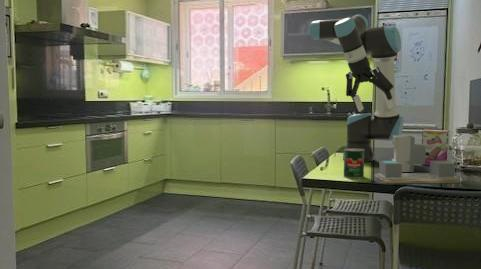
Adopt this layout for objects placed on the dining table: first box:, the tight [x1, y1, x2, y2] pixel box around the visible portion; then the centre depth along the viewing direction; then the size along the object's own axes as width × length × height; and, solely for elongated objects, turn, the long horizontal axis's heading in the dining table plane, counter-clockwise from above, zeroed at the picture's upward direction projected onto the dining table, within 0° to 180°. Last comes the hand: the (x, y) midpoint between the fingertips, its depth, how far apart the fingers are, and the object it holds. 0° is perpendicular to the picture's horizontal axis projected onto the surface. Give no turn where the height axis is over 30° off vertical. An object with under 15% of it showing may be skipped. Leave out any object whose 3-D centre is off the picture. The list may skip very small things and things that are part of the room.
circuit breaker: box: [391, 135, 429, 173], centre depth 201 cm, size 8×14×15 cm, turn 78°
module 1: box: [378, 160, 402, 177], centre depth 181 cm, size 8×6×5 cm
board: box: [374, 173, 462, 184], centre depth 181 cm, size 14×28×1 cm, turn 90°
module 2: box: [429, 161, 456, 177], centre depth 181 cm, size 8×6×5 cm
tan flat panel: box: [375, 172, 459, 180], centre depth 181 cm, size 10×28×1 cm, turn 90°
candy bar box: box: [420, 129, 451, 167], centre depth 216 cm, size 11×5×16 cm, turn 57°
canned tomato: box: [343, 148, 365, 179], centre depth 189 cm, size 8×8×11 cm
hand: (375, 108), depth 183 cm, fingers open, 13 cm apart
